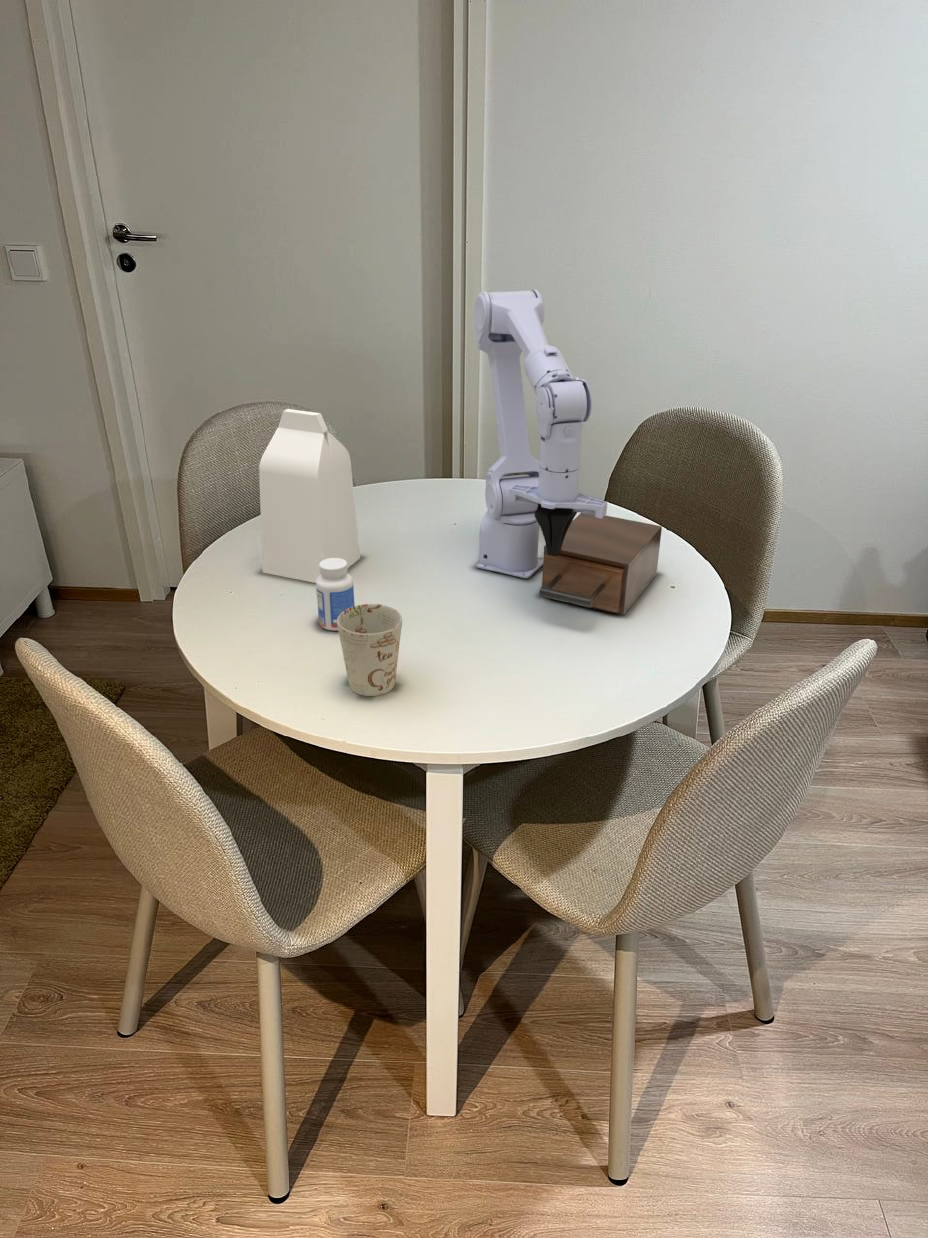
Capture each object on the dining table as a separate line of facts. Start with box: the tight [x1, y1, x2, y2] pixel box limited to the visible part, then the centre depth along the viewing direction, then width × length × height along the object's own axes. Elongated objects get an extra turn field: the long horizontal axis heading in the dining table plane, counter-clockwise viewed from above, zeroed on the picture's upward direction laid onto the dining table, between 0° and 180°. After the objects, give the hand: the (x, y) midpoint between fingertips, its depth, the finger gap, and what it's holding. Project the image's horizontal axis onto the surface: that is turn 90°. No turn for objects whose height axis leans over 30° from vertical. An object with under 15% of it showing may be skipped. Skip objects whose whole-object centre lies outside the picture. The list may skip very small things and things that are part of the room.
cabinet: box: [541, 512, 663, 616], centre depth 156 cm, size 17×14×9 cm
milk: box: [258, 408, 361, 584], centre depth 157 cm, size 12×12×26 cm
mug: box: [337, 603, 403, 697], centre depth 130 cm, size 8×13×10 cm, turn 27°
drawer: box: [538, 553, 624, 612], centre depth 152 cm, size 22×12×7 cm, turn 153°
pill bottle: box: [315, 558, 356, 632], centre depth 143 cm, size 6×5×10 cm
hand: (554, 553), depth 146 cm, fingers closed
